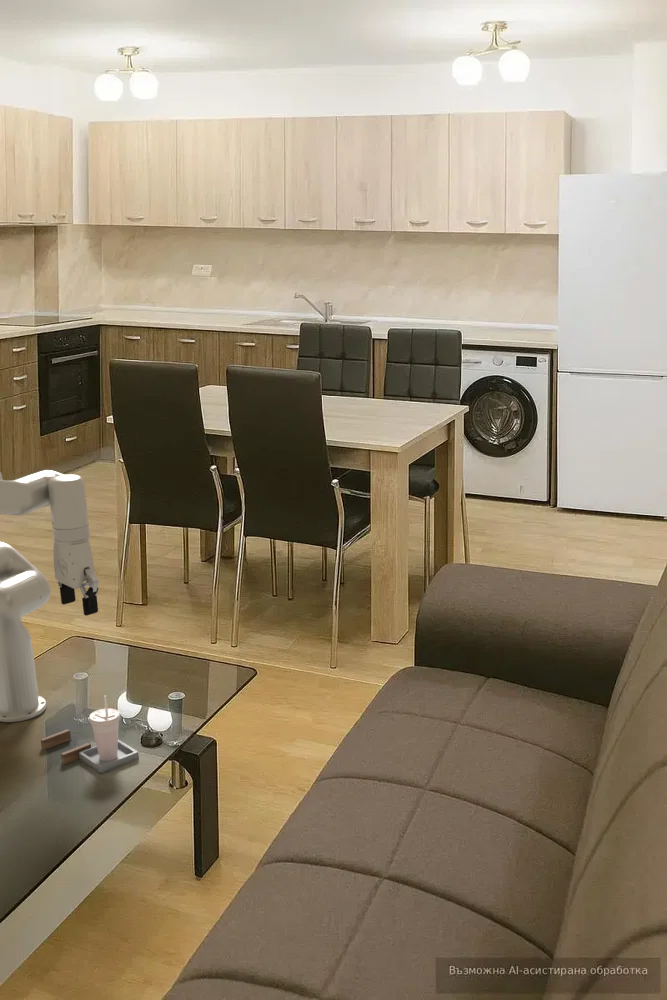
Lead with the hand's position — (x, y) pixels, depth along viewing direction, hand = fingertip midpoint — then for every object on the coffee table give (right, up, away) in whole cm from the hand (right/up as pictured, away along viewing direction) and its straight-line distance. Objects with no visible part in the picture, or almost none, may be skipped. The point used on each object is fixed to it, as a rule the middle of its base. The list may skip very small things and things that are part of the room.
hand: (79, 608), depth 239 cm
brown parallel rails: (-2, -30, -3) cm, 31 cm away
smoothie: (+8, -31, -7) cm, 33 cm away
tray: (+8, -31, -7) cm, 33 cm away
